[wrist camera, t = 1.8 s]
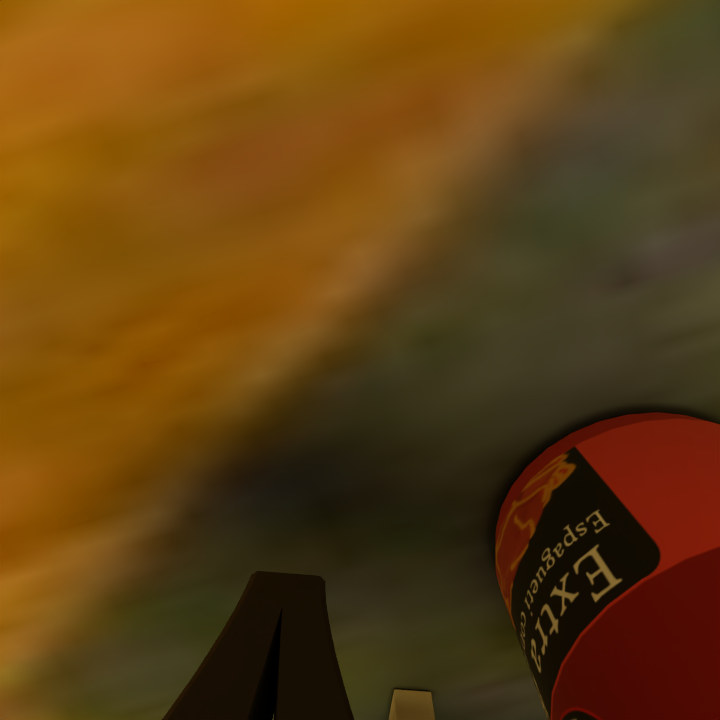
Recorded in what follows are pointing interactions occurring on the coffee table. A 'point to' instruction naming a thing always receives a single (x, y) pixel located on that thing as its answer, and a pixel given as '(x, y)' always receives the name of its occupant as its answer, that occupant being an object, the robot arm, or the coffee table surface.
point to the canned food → (619, 569)
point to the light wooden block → (411, 705)
